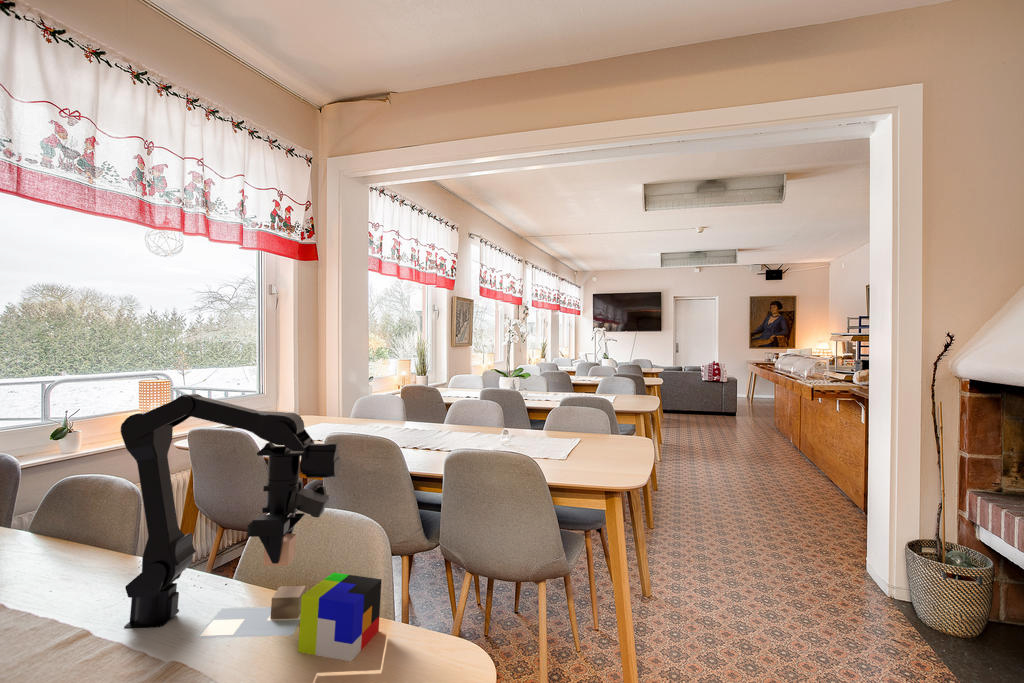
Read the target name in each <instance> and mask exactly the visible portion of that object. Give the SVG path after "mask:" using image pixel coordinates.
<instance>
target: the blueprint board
mask: <svg viewBox="0 0 1024 683" xmlns="http://www.w3.org/2000/svg"><path fill="white" fill-rule="evenodd" d="M300 614H301V613H300ZM270 617H271V606H259V607H258V606H257V607H254V606H253V607H222V608H221V609H219V611H218V612H217V613H216V614H215V615H214V616H213V618H212V619H211V620H210V621H209V622H208V623H207V624H206V625H205V627H203V629H202V630H200V632H199V633H198V635H196V637H195V639H216V638H217V639H218V638H219V639H223V638H243V637H245V638H246V637H248V638H249V637H252V638H253V637H276V636H277V637H279V636H280V637H281V636H282V637H283V636H293V635H294V634H295V631H296V630H297V628H298V625H300V615H299V617H298V618H294V619H270Z"/></svg>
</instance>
